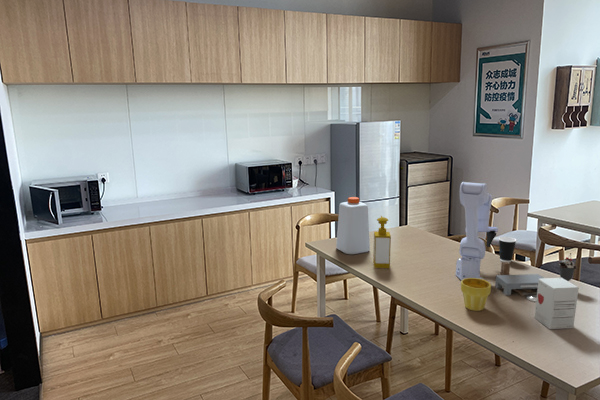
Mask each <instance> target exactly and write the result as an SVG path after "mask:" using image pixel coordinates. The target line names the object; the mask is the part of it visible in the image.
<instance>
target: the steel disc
mask: <svg viewBox="0 0 600 400" xmlns="http://www.w3.org/2000/svg"><path fill="white" fill-rule="evenodd" d="M536 299H537V295H532V294H530V295H527V297H526V300H528V302H533V303H536Z"/></svg>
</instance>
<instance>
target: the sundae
mask: <svg viewBox="0 0 600 400" xmlns="http://www.w3.org/2000/svg"><path fill="white" fill-rule="evenodd" d="M569 256H572V252H571V253H569ZM569 256H567V257H565V258H564V259H563V260H562V261H561V262H559V263H558V264H557V265H558V267H559V276H560V277H559V278H563V279H565V280H567V281H569V282H570V281H571V280H572V278H573V275H574V273H575V272H574V271H575V270H576V269H577V268H578V266H577V265H575V263H574V261H573V258H570V257H569Z"/></svg>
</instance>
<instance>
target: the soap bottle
mask: <svg viewBox="0 0 600 400" xmlns="http://www.w3.org/2000/svg"><path fill="white" fill-rule="evenodd" d="M376 221H378V224H379V225H380V227H378V231H373V257H372V259H373V263H374V264H373V263H372V264H373V269H390V267H391V242H392V240H391V239H392V236H391V233H390V231H387V228H386V227H385V225H387V224H388V222H389V219H388V218H387V217H384V216H382V215H380V217H379V218H377V219H376Z"/></svg>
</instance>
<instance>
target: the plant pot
mask: <svg viewBox="0 0 600 400" xmlns="http://www.w3.org/2000/svg"><path fill="white" fill-rule="evenodd" d="M460 290H461V292H462V297H463V302H464V306H465V308H466V309H468V310H470V311H473V312H474V311H475V312H478V311H479V312H480V311H483V310H484V309H485V306H486V304H487V303H486V302H487V300H488V297H489V295H491V291H492V283H491V282H489V281H487V280H485V279H483V278H482V279H479V278H466V279H463V280H462V281H461V280H460Z"/></svg>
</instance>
